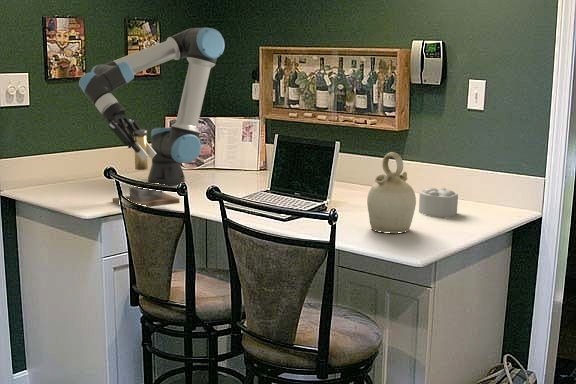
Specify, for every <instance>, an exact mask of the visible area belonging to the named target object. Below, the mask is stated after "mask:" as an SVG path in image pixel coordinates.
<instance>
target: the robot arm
mask: <svg viewBox="0 0 576 384" xmlns="http://www.w3.org/2000/svg"><path fill="white" fill-rule="evenodd" d="M225 47H226V46H225V40H224V37H223V35H222V33H221V32H220V31H219V30H217V29H215V28H212V27H211V28H210V27H191V28H188V29H185V30H183V31H181V32H178V33H175V34H174V35H172V36H171V35H170V36H169V37H167V39H166V41H163V42H160V43H157V44H155V45H154V44H153V45H152V46H149V47H146V48H144V49H141V50H139V51H136V52H133V53H130V54H127V55H125V56H123V57H120V58H118V59H115V60H112V61H109V62H107V63H104V64H101V63H100V64H97V65H95V66H93V67H92V68H91V70H90V72H87V73H85V74H83V75H82V76H81V77H80V79H79V81H78V87H80V88H81V91H82V92H83V94H84V95H85V96H86V97H87V98H88V99H89V101H91V103H92V104H93V105H94V107H96V109H97V110H98V111H99V113H100V114H101V115H102V116H103V117H104V119H105V121H107V123H108V124H109V125H108V128H109V129H110V130H111V131H113V133H114V134H115V135H116V136H117V138H118V139H119V140H120V141H121V142H122V143H123V145H124V146H125V147H127V148H128V149H131V148H132V150H133V151H134V153H135V152H136V153H137V154H138V155H139V157H140V158H141V159H142V160H143V161H144V160H145V159H146V158H147V159H148V157H149V158H150V159H151V166H150V170H149V172H148V176H147V183H148V182H150V183H159V184H165V185H164V186H177V185H176V184H178V185H180V184H179V183H181V182H184V183H185V182H186V181H185V179H186V176H185V175H184V171H183V168H182V165H181V164H189V163H192V162H194V161H196V159H198V157H199V156H200V155H201V151H202V142H201V141H200V135H201V134H200V133H201V131H200V130H199V128H198V125H199V120H200V117H201V112H202V107H203V102H204V98H205V93H206V90H207V86H208V80H209V77H210V72H211V69H212V68H214V67H215V66H216V64H217V63H216V62H217V59H218V58H219V57H220V56H221V55H223V53H224V50H225ZM184 58H186V60H187V62H188V67H187V72H186V75H185V80H184V84H183V90H182V94H181V99H180V103H179V106H178V107H179V108H178V111H177V112H178V113H177V117H176V121H175V122H174V123H173V124H171V126H169V127H157V128H153V129H151V133H150V134H151V136H150V141H151V145H150V144H149V142H148V141H147V153H146V152H145V151H144V149H143V148H142V147H141V146H140V145H139V143H138V142H136V143H135V140H134V135H133V130H143V128H141V126H140V124H138V123H137V120H136V119H135V117H132V118H131V119H130V118H129V117H128V115H126V110H125V108H124V107H123V106H122V105H121V103H120V102H119V101H118V100H117V98H116V97H115V96H114V95H113V94H112V92H113V91H115V90H117V89H119V88H120V87H123V86H124V85H126V84H129V82H131V81H132V80H134V78H135V74H137V73H140V72H142V71H145V70H148V69H151V68H153V67H155V66H159V65H161V64H164V63H166V62H168V61H172V60H176V61H179V60H180V59H184ZM148 139H149V136H148V135H147V140H148Z"/></svg>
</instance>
